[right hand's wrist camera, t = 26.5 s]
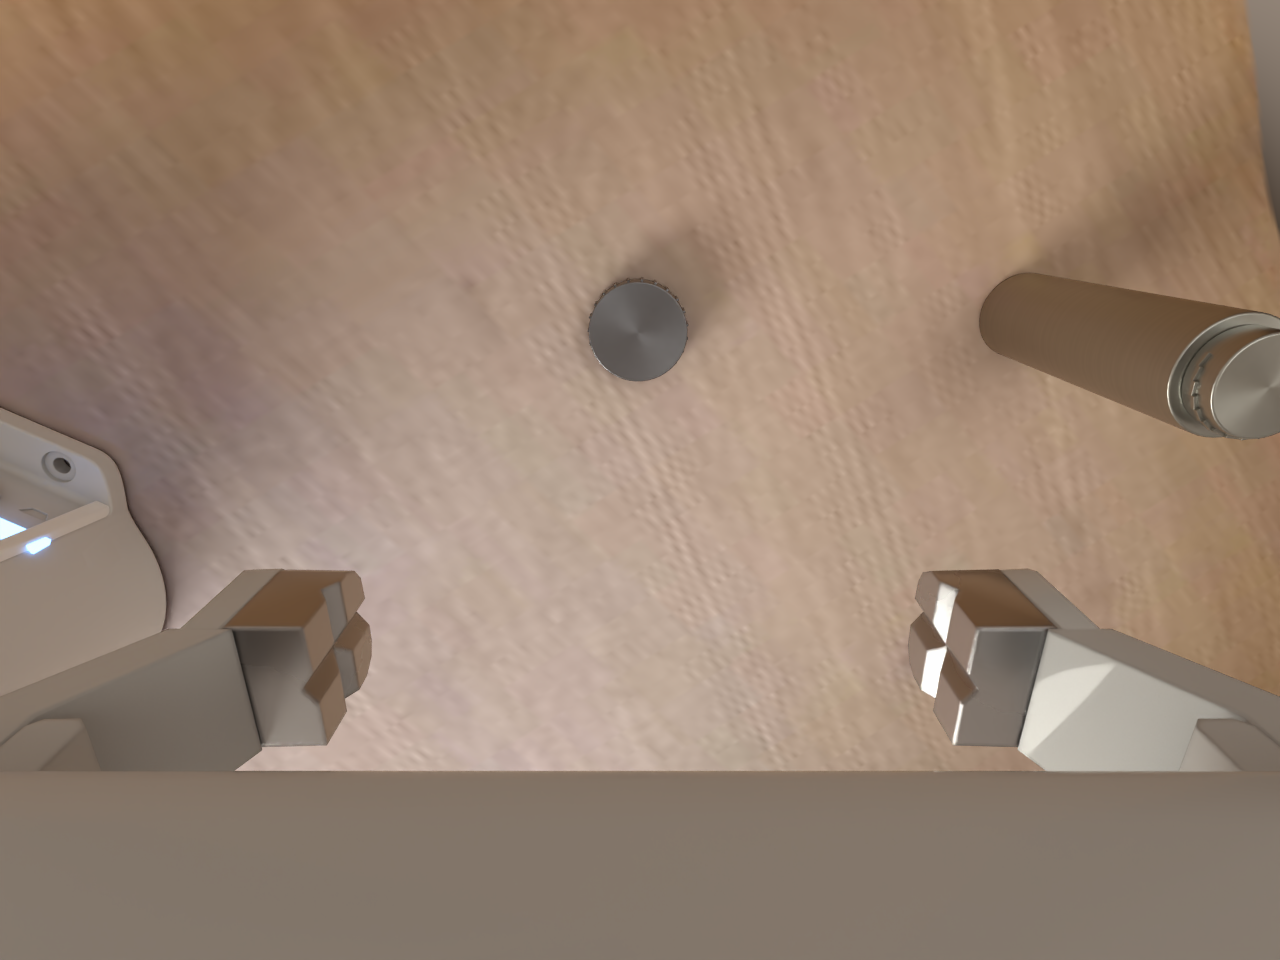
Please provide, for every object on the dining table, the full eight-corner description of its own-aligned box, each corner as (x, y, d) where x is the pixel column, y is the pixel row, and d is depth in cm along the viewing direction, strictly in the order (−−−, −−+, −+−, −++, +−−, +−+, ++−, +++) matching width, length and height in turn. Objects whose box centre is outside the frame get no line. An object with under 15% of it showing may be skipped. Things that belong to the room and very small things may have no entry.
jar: (963, 337, 35) (1170, 421, 21) (1009, 259, 33) (1262, 296, 20) (1031, 368, 35) (1275, 470, 22) (1079, 293, 34) (1371, 351, 20)
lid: (705, 340, 35) (708, 346, 33) (626, 393, 36) (625, 401, 34) (651, 256, 33) (651, 259, 32) (569, 315, 34) (566, 320, 33)
